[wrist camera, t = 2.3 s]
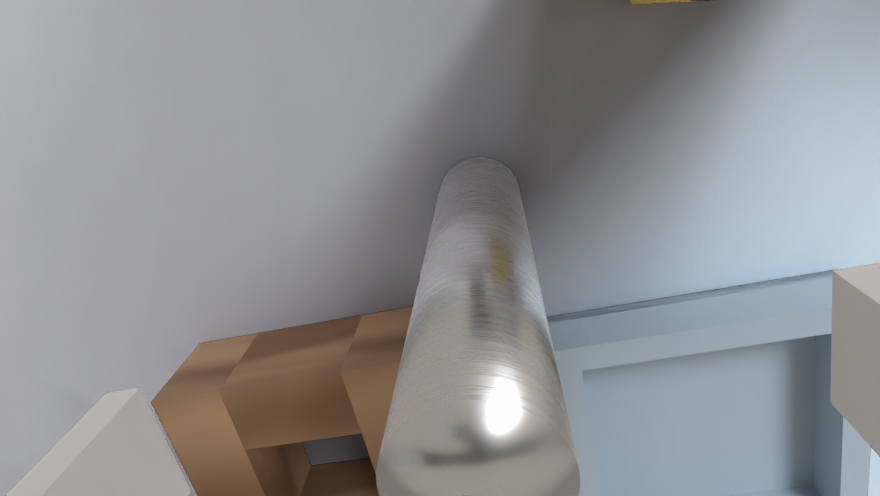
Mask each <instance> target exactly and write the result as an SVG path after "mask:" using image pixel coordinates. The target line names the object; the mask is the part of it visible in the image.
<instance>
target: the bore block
mask: <svg viewBox="0 0 880 496" xmlns="http://www.w3.org/2000/svg"><path fill="white" fill-rule="evenodd" d="M412 309H413V306H412V307H406V308H400V309H395V310H389V311H383V312H377V313H372V314H366V315H360V316H354V317H348V318H343V319H337V320H331V321H325V322H320V323H314V324H308V325H302V326H296V327H291V328H285V329H279V330H273V331H268V332H262V333H256V334H250V335H244V336H239V337H233V338H227V339H221V340H216V341H210V342H204V343H200V344H199V345H198V346H197V347H196V349H195V350H194V351H193V352H192V353H191V355H190V356H189V357H188V358H187V359H186V360H185V362H184V363H183V364H182V365H181V366H180V368H179V369H178V370H177V371H176V372H175V374H174V375H173V376H172V377H171V378H170V380H169V381H168V382H167V383H166V384H165V386H164V387H163V388H162V389H161V390H160V392H159V393H158V394H157V395H156V396H155V398H154V399H153V400H152V401H151V404H152V406H153V408H154V410H155V412H156V414H157V416H158V418H159V420H160V422H161V424H162V426H163V428H164V430H165V432H166V434H167V436H168V438H169V440H170V441H171V443H172V445H173V447H174V449H175V451H176V453H177V455H178V457H179V459H180V461H181V463H182V465H183V467H184V469H185V471H186V473H187V475H188V477H189V479H190V481H191V483H192V485H193V487H194V489H195V491H196V493H197V495H198V496H379V493H378V489H377V483H376V469H377V463H378V458H379V454H380V449H381V445H382V441H383V436H384V432H385V427H386V423H387V419H388V414H389V410H390V405H391V401H392V397H393V392H394V388H395V383H396V379H397V375H398V370H399V366H400V361H401V357H402V353H403V348H404V344H405V339H406V335H407V331H408V326H409V322H410V317H411V313H412ZM361 433H362V436H363V439H364V442H365V445H366V448H367V450H368V453H369V456H370V458H366V459H359V460H351V461H344V462H336V463H329V464H322V465H314V466H311V465H310V462H309V460H308V457H307V454H306V452H305V449H304V447H303V444H302V442H305V441H312V440H319V439H326V438H333V437H340V436H347V435H354V434H361Z"/></svg>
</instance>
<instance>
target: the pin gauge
mask: <svg viewBox="0 0 880 496" xmlns="http://www.w3.org/2000/svg"><path fill="white" fill-rule="evenodd" d="M376 483H377V489H378V493H379V496H579V492H580V472H579V467H578V462H577V458H576V453H575V448H574V443H573V439H572V434H571V429H570V425H569V420H568V415H567V410H566V406H565V401H564V396H563V391H562V387H561V382H560V377H559V373H558V368H557V363H556V358H555V354H554V349H553V344H552V339H551V335H550V330H549V325H548V321H547V316H546V311H545V306H544V302H543V297H542V292H541V288H540V283H539V278H538V273H537V269H536V264H535V259H534V254H533V250H532V245H531V240H530V236H529V231H528V226H527V221H526V217H525V212H524V207H523V203H522V198H521V193H520V188H519V184H518V182H517V179H516V177H515V176H514V174H513V173H512V172H511V170H510V169H509V168H508V167H507V166H505V165H504V164H503V163H501V162H499V161H497V160H495V159H492V158H488V157H472V158H468V159H465V160H463V161H460V162H459V163H457V164H456V165H454V166H453V167H452V168H451V169H450V170H449V171H448V172H447V173H446V175H445V176H444V178H443V180H442V183H441V186H440V190H439V194H438V199H437V203H436V207H435V212H434V216H433V221H432V225H431V229H430V234H429V238H428V243H427V247H426V251H425V256H424V260H423V265H422V269H421V273H420V278H419V282H418V287H417V291H416V295H415V300H414V304H413V309H412V313H411V317H410V322H409V326H408V331H407V335H406V339H405V344H404V348H403V353H402V357H401V361H400V366H399V370H398V375H397V379H396V383H395V388H394V392H393V397H392V401H391V405H390V410H389V414H388V419H387V423H386V427H385V432H384V436H383V441H382V445H381V449H380V454H379V458H378V463H377V469H376Z"/></svg>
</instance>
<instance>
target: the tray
mask: <svg viewBox="0 0 880 496" xmlns="http://www.w3.org/2000/svg"><path fill="white" fill-rule="evenodd" d="M836 270H837V269H836ZM833 271H834V270H830V271H824V272H818V273H812V274H806V275H800V276H794V277H788V278H782V279H776V280H770V281H764V282H757V283H751V284H745V285H739V286H733V287H727V288H721V289H715V290H709V291H703V292H697V293H691V294H685V295H678V296H672V297H666V298H660V299H654V300H648V301H642V302H636V303H630V304H624V305H618V306H612V307H606V308H599V309H593V310H587V311H581V312H575V313H569V314H563V315H557V316H551V317H547V321H548V325H549V330H550V335H551V339H552V344H553V349H554V354H555V358H556V363H557V368H558V373H559V377H560V382H561V387H562V391H563V396H564V401H565V406H566V410H567V415H568V420H569V425H570V429H571V434H572V439H573V443H574V448H575V453H576V458H577V462H578V467H579V472H580V492H579V496H868V485H869V469H870V452H871V446H870V445H869V444H868V443H867V442H866V441H865V440H864V439H863V438H862V437H861V435H860V434H859V433H858V432H857V431H856V430H855V429H854V428H853V427H852V426H851V425H850V423H849V422H848V421H847V420H846V419H845V418H844V417H843V416H842V415H841V414H840V412H839V411H838V410H837V409H836V408H835V407H834V406H833V405H832V404H831V403H830V390H831V335H832V279H833Z"/></svg>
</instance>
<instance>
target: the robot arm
mask: <svg viewBox="0 0 880 496" xmlns="http://www.w3.org/2000/svg"><path fill="white" fill-rule="evenodd" d="M830 403H831V404H832V405H833V406H834V407H835V408H836V409H837V410H838V411H839V412H840V414H841V415H842V416H843V417H844V418H845V419H846V420H847V421H848V422H849V423H850V425H851V426H852V427H853V428H854V429H855V430H856V431H857V432H858V433H859V434H860V435H861V437H862V438H863V439H864V440H865V441H866V442H867V443H868V444H869V445H870V446H871V448H872V449H873V450H874V451H875V452H876V453H877V454H878V455H879V456H880V263H876V264H870V265H864V266H858V267H852V268H846V269H840V270H834V271H833V279H832V335H831V390H830ZM190 492H191V489H190V487H189V485H188V483H187V481H186V479H185V477H184V475H183V473H182V471H181V469H180V467H179V465H178V463H177V461H176V459H175V457H174V455H173V453H172V451H171V449H170V447H169V445H168V443H167V441H166V438H165V436H164V434H163V432H162V430H161V428H160V426H159V424H158V422H157V420H156V418H155V416H154V414H153V412H152V410H151V408H150V406H149V404H148V402H147V400H146V398H145V396H144V394H143V392H142V390H141V388H140V387H138V388H132V389H126V390H120V391H114V392H108V393H106V394H105V395H104V396H103V397H102V398H101V399H100V400H99V401H98V402H97V403H96V404H95V405H94V406H93V407H92V408H91V409H90V410H89V411H88V412H87V413H86V414H85V415H84V416H83V417H82V418H81V419H80V420H79V421H78V422H77V423H76V424H75V425H74V426H73V427H72V428H71V429H70V430H69V431H68V432H67V433H66V434H65V435H64V436H63V437H62V438H61V439H60V440H59V441H58V442H57V443H56V444H55V445H54V446H53V447H52V448H51V449H50V450H49V451H48V452H47V453H46V455H45V456H44V457H43V458H42V459H41V460H40V461H39V462H38V463H37V464H36V465H35V466H34V467H33V468H32V469H31V470H30V471H29V472H28V473H27V474H26V475H25V476H24V477H23V478H22V479H21V480H20V481H19V482H18V483H17V484H16V485H15V486H14V487H13V488H12V489H11V490H10V491H9V492H8V493H7V494H6V495H5V496H188V495H189V494H190Z"/></svg>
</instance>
